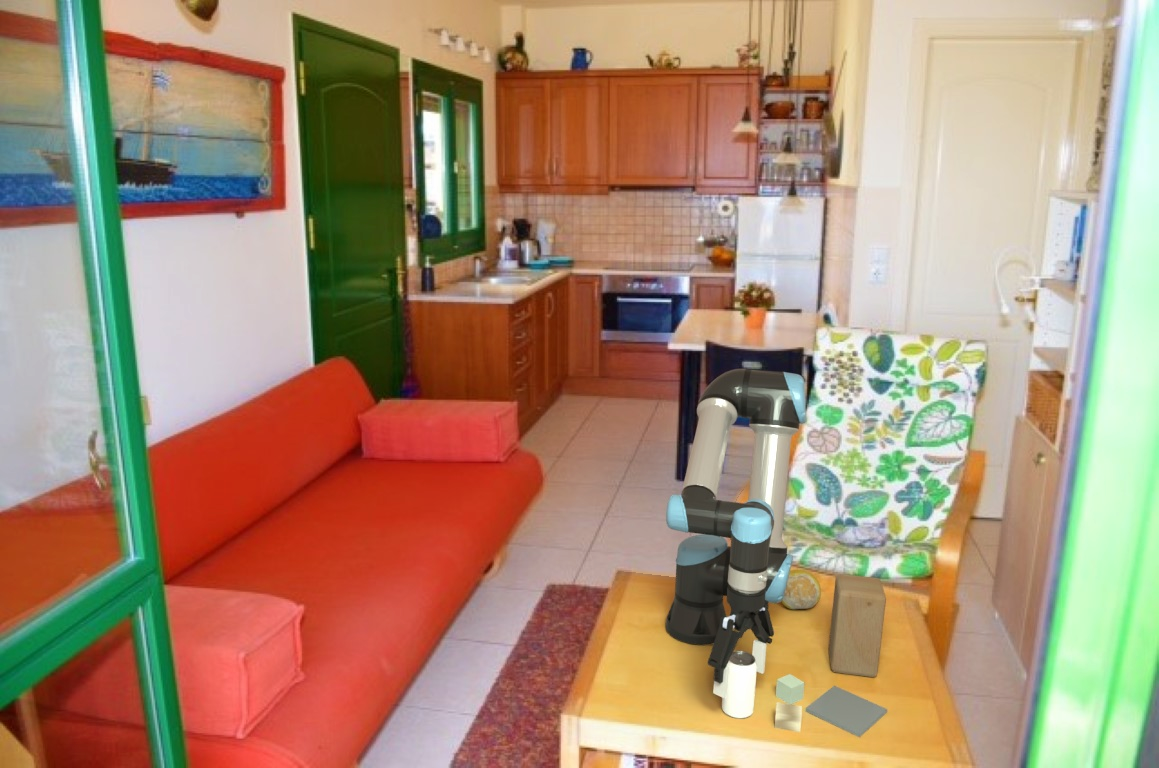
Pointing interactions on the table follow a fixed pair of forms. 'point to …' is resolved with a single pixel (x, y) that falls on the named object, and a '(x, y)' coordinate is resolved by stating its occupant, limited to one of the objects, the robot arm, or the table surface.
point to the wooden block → (856, 625)
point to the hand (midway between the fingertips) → (739, 682)
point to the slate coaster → (846, 710)
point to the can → (740, 685)
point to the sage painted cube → (790, 689)
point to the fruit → (801, 590)
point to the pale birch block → (788, 717)
